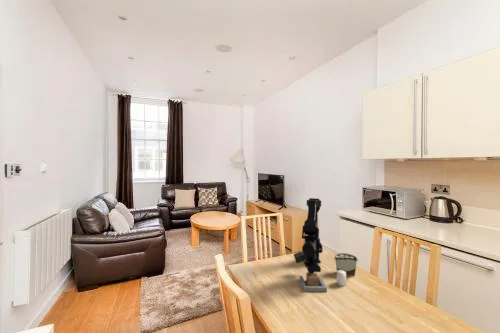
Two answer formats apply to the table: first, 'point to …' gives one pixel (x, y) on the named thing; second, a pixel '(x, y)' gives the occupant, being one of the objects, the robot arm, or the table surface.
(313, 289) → the grey bay
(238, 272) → the table surface
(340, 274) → the white rounded cylinder
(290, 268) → the table surface
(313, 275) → the walnut block
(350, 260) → the food container
